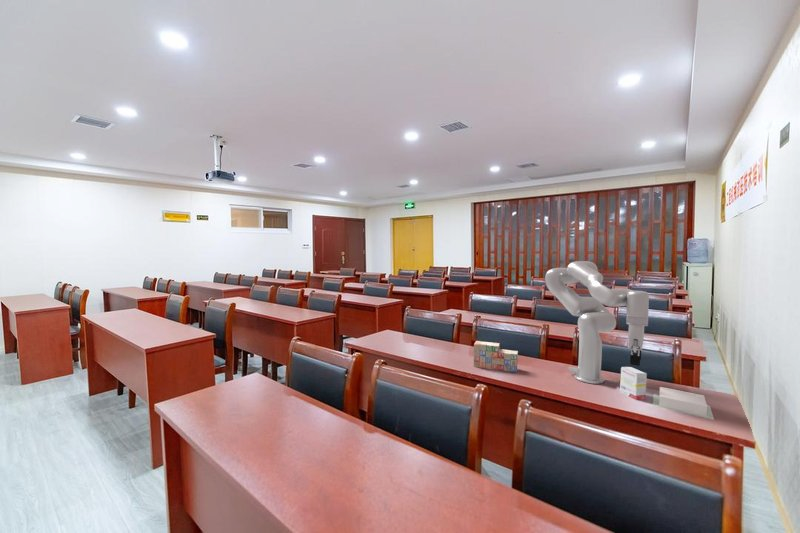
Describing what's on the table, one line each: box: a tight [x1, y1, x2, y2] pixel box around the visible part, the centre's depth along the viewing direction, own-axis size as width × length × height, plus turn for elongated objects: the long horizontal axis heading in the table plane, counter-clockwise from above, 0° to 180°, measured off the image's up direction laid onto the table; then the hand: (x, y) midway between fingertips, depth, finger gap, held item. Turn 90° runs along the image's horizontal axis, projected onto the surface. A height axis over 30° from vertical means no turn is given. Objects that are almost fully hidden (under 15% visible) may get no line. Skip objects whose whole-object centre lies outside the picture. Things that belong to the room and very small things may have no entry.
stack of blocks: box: [473, 340, 519, 373], centre depth 183 cm, size 21×6×12 cm, turn 68°
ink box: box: [619, 366, 648, 401], centre depth 148 cm, size 9×5×12 cm, turn 10°
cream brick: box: [658, 386, 708, 418], centre depth 139 cm, size 14×12×4 cm
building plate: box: [652, 393, 715, 421], centre depth 139 cm, size 18×14×1 cm
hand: (635, 362), depth 147 cm, fingers open, 9 cm apart
